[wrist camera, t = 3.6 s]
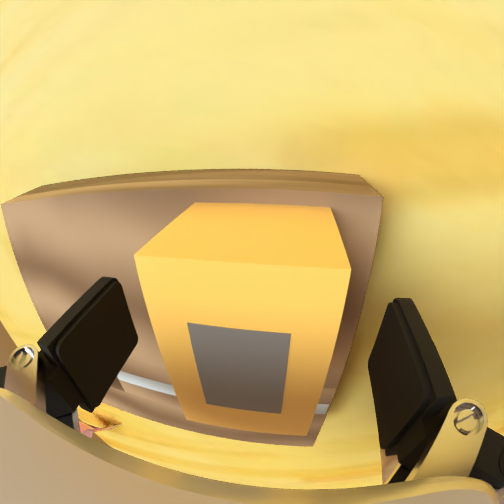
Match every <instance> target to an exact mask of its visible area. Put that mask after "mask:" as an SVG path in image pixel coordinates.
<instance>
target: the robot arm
mask: <svg viewBox="0 0 504 504" xmlns="http://www.w3.org/2000/svg"><path fill="white" fill-rule="evenodd" d="M37 343H38V345H39V347H40V348H41V351H40V352H38V350H37V348H36V347H35V346H33V345H31V344H26V345H22V346H20V347H18V348H17V349H15V350H14V351H13V352H12V353H11V355H10V357H9V360H8V364H7V366H4V367H1V368H0V504H504V436H502V435H500V434H499V433H497V432H495V431H493V430H492V429H490V428H488V427H487V424H488V418H487V413H486V411H485V409H484V408H483V406H482V405H481V404H480V403H478V402H477V401H476V400H473V399H470V398H463V399H460V400H458V401H457V399H456V397H455V394H454V391H453V388H452V386H451V383H450V380H449V378H448V375H447V373H446V370H445V368H444V365H443V363H442V361H441V358H440V356H439V354H438V351H437V349H436V347H435V345H434V343H433V341H432V339H431V337H430V335H429V332H428V330H427V328H426V326H425V324H424V322H423V320H422V318H421V316H420V314H419V312H418V310H417V308H416V306H415V304H414V302H413V301H412V299H410V298H395V299H394V300H393V302H392V303H389V304H388V305H387V308H386V312H385V315H384V318H383V321H382V324H381V327H380V330H379V333H378V336H377V338H376V341H375V344H374V347H373V349H372V352H371V355H370V357H369V361H368V370H369V375H370V381H371V386H372V392H373V398H374V404H375V411H376V418H377V425H378V433H379V442H380V447H381V449H385V455H386V456H393V455H397V457H398V463H399V464H398V465H397V467H396V468H395V470H394V471H393V472H392V474H391V475H390V476H389V478H388V479H387V480H386V482H385V483H384V484H383V485H376V486H368V487H358V488H345V489H317V490H304V489H279V488H266V487H256V486H248V485H241V484H234V483H228V482H222V481H217V480H212V479H207V478H203V477H198V476H194V475H190V474H186V473H182V472H179V471H175V470H172V469H168V468H165V467H162V466H158V465H155V464H152V463H149V462H147V461H144V460H141V459H138V458H136V457H133V456H130V455H128V454H125V453H123V452H120V451H118V450H116V449H113V448H111V447H109V446H106V445H104V444H102V443H100V442H98V441H96V440H94V439H92V438H90V437H88V436H86V435H84V434H82V433H81V430H80V425H79V420H78V413H77V407H78V405H79V406H80V407H81V408H82V409H84V410H86V411H89V412H91V413H92V412H93V410H94V409H95V407H98V406H99V405H100V403H101V402H102V400H103V398H104V397H105V395H106V393H107V392H108V390H109V388H110V387H111V385H112V383H113V382H114V380H115V379H116V377H117V375H118V374H119V372H120V370H121V369H122V367H123V366H124V364H125V362H126V361H127V359H128V358H129V356H130V355H131V353H132V351H133V350H134V348H135V347H136V345H137V343H138V335H137V332H136V329H135V326H134V323H133V320H132V317H131V314H130V311H129V308H128V305H127V301H126V298H125V295H124V291H123V288H122V285H121V283H119V281H118V280H117V279H116V278H113V277H105V276H103V277H101V278H100V279H99V280H98V281H97V282H95V283H94V284H93V285H92V286H91V287H90V288H89V289H88V290H87V291H86V292H85V293H84V294H83V295H82V296H81V297H80V298H79V299H78V300H77V301H76V302H75V303H74V304H73V305H72V306H71V307H70V308H69V309H68V310H67V311H66V312H65V313H64V314H63V315H62V316H61V317H60V318H59V319H58V320H57V321H56V322H55V323H54V324H53V326H52V327H51V328H50V329H49V330H48V331H47V332H46V333H45V334H44V335H43V336H42V337H41V339H40V340H39V341H38V342H37Z"/></svg>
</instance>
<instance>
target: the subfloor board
mask: <svg viewBox="0 0 504 504" xmlns="http://www.w3.org/2000/svg"><path fill="white" fill-rule="evenodd" d="M195 202H203V203H254V204H280V205H300V206H317V207H330V208H331V210H332V213H333V216H334V219H335V221H336V224H337V227H338V230H339V233H340V236H341V239H342V242H343V245H344V248H345V251H346V254H347V257H348V260H349V263H350V267H351V274H350V280H349V285H348V290H347V295H346V300H345V305H344V309H343V314H342V318H341V323H340V327H339V331H338V335H337V339H336V343H335V347H334V351H333V355H332V358H331V362H330V366H329V369H328V373H327V376H326V379H325V383H324V386H323V389H322V392H321V396H320V399H319V402H318V405H317V408H316V411H315V414H314V417H313V420H312V423H311V425H310V428H309V431H308V434H307V436H298V435H282V434H270V433H260V432H252V431H244V430H237V429H231V428H225V427H219V426H214V425H209V424H204V423H199V422H194V421H190V420H186V417H185V415H184V413H183V410H182V408H181V405H180V403H179V401H178V398H177V396H176V393H175V391H174V388H173V385H172V383H171V380H170V378H169V375H168V372H167V369H166V367H165V364H164V361H163V358H162V355H161V352H160V349H159V346H158V343H157V340H156V337H155V334H154V331H153V327H152V324H151V321H150V317H149V314H148V310H147V307H146V303H145V299H144V296H143V292H142V288H141V284H140V280H139V276H138V272H137V267H136V263H135V259H134V254H135V253H137V252H138V251H139V250H140V249H141V248H142V247H143V246H144V245H145V244H147V243H148V242H149V241H150V240H151V239H152V238H153V237H155V236H156V235H157V234H158V233H159V232H160V231H161V230H163V229H164V228H165V227H166V226H167V225H169V224H170V223H171V222H172V221H173V220H174V219H176V218H177V217H178V216H179V215H180V214H182V213H183V212H184V211H185V210H186V209H188V208H189V207H190V206H191V205H193V204H194V203H195ZM382 202H383V196H382V195H381V194H379V193H378V192H377V191H376V190H375V189H374V188H373V187H372V186H371V185H369V184H368V183H367V182H366V181H365V180H364V179H363V178H361V177H360V176H359V175H355V174H344V173H331V172H317V171H299V170H274V169H204V170H178V171H161V172H147V173H134V174H124V175H114V176H105V177H97V178H89V179H81V180H74V181H68V182H61V183H55V184H49V185H44V186H40V187H38V188H36V189H33V190H31V191H29V192H26V193H24V194H22V195H20V196H18V197H16V198H13V199H11V200H9V201H7V202H5V203H3V204H1V207H2V211H3V216H4V220H5V224H6V228H7V231H8V235H9V239H10V242H11V245H12V248H13V252H14V255H15V258H16V261H17V264H18V266H19V269H20V272H21V275H22V277H23V280H24V282H25V285H26V287H27V290H28V292H29V295H30V297H31V299H32V302H33V304H34V306H35V308H36V310H37V313H38V315H39V317H40V319H41V321H42V323H43V325H44V327H45V329H46V331H48V330H49V329H50V328H51V327H52V326H53V324H54V323H55V322H56V321H57V320H58V319H59V318H60V317H61V316H62V315H63V314H64V313H65V312H66V311H67V310H68V309H69V308H70V307H71V306H72V305H73V304H74V303H75V302H76V301H77V300H78V299H79V298H80V297H81V296H82V295H83V294H84V293H85V292H86V291H87V290H88V289H89V288H90V287H91V286H92V285H93V284H94V283H95V282H97V281H98V280H99V279H100V278H101V277H103V276H105V277H113V278H116V279H117V280H118V281H119V283H121V285H122V288H123V291H124V295H125V298H126V301H127V305H128V308H129V311H130V314H131V317H132V320H133V323H134V326H135V329H136V332H137V335H138V343H137V345H136V347H135V348H134V350H133V351H132V353H131V355H130V356H129V358H128V359H127V361H126V362H125V364H124V366H123V367H122V369H121V370H120V372H119V374H118V375H117V377H116V379H115V380H114V382H113V383H112V385H111V387H110V388H109V390H108V392H107V393H106V395H105V397H104V398H103V400H102V402H103V403H105V404H108V405H110V406H113V407H115V408H118V409H120V410H123V411H126V412H128V413H131V414H134V415H137V416H140V417H143V418H146V419H149V420H152V421H156V422H159V423H162V424H166V425H169V426H173V427H177V428H181V429H185V430H189V431H193V432H197V433H202V434H207V435H212V436H217V437H222V438H228V439H234V440H241V441H248V442H256V443H265V444H275V445H289V446H313V445H314V443H315V440H316V438H317V436H318V434H319V431H320V429H321V427H322V425H323V422H324V420H325V417H326V415H327V413H328V410H329V408H330V405H331V403H332V400H333V397H334V395H335V392H336V389H337V387H338V384H339V381H340V378H341V376H342V373H343V370H344V367H345V364H346V361H347V358H348V355H349V352H350V348H351V345H352V342H353V339H354V335H355V332H356V328H357V325H358V321H359V318H360V314H361V310H362V306H363V302H364V298H365V294H366V290H367V286H368V281H369V277H370V272H371V268H372V263H373V258H374V253H375V247H376V242H377V236H378V230H379V224H380V217H381V210H382Z"/></svg>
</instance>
